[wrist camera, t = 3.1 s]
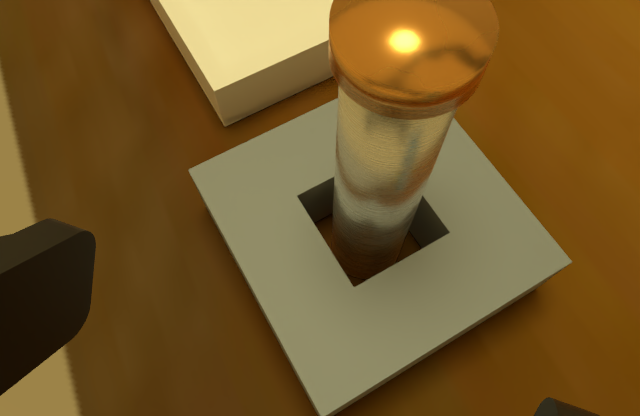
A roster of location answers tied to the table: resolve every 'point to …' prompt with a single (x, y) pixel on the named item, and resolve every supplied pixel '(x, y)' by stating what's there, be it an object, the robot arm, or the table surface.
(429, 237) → the block
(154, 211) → the table surface
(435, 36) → the pin
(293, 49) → the pin tray
